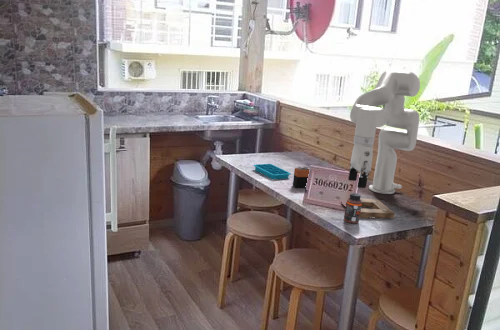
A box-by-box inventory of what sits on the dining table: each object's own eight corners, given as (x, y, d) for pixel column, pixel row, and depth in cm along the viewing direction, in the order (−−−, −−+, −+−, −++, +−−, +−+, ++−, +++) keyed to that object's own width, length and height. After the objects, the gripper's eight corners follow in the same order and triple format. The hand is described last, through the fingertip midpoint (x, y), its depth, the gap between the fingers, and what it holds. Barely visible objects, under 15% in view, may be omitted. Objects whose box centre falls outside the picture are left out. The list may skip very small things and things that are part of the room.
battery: (308, 188, 215) (311, 168, 212) (296, 188, 212) (298, 168, 210) (304, 185, 219) (307, 165, 216) (292, 185, 216) (294, 165, 214)
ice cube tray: (270, 168, 245) (270, 163, 244) (291, 179, 228) (292, 173, 228) (252, 170, 239) (252, 164, 238) (272, 180, 222) (273, 175, 222)
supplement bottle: (357, 225, 172) (361, 197, 169) (342, 221, 174) (346, 194, 171) (359, 220, 178) (364, 193, 175) (345, 217, 180) (349, 190, 177)
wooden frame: (376, 204, 199) (377, 199, 198) (393, 219, 183) (394, 212, 182) (340, 203, 196) (341, 197, 196) (354, 217, 180) (355, 211, 180)
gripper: (382, 146, 160) (374, 191, 164) (364, 137, 176) (357, 178, 181) (363, 144, 159) (355, 190, 163) (346, 135, 175) (340, 177, 179)
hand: (356, 183), depth 172 cm, fingers open, 9 cm apart
